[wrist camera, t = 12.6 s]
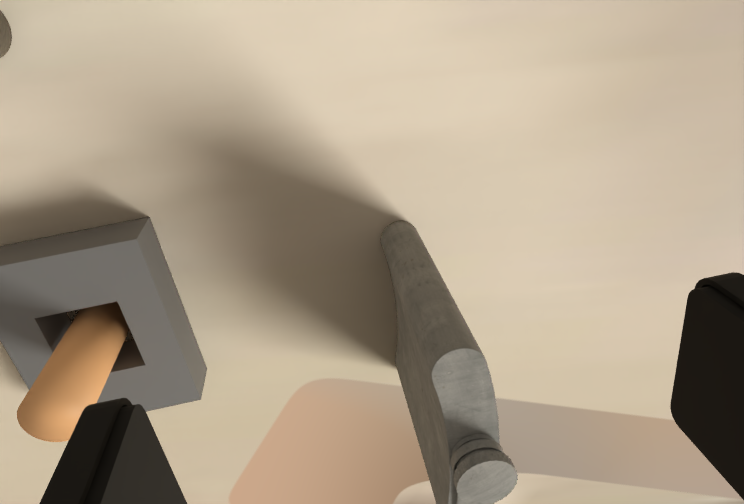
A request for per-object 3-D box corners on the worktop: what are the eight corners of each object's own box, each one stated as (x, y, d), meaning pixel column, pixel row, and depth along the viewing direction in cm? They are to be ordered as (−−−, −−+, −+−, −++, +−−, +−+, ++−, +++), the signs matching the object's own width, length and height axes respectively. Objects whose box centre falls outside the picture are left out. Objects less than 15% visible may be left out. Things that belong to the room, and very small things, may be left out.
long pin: (73, 298, 43) (5, 401, 33) (123, 288, 43) (71, 386, 33) (93, 338, 45) (34, 447, 34) (141, 328, 45) (97, 434, 35)
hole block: (-11, 248, 40) (-40, 273, 37) (149, 216, 41) (136, 238, 38) (71, 398, 47) (53, 431, 44) (206, 368, 48) (200, 399, 44)
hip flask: (378, 224, 44) (441, 385, 27) (426, 216, 45) (520, 370, 27) (396, 374, 52) (455, 579, 34) (437, 367, 52) (517, 565, 34)
